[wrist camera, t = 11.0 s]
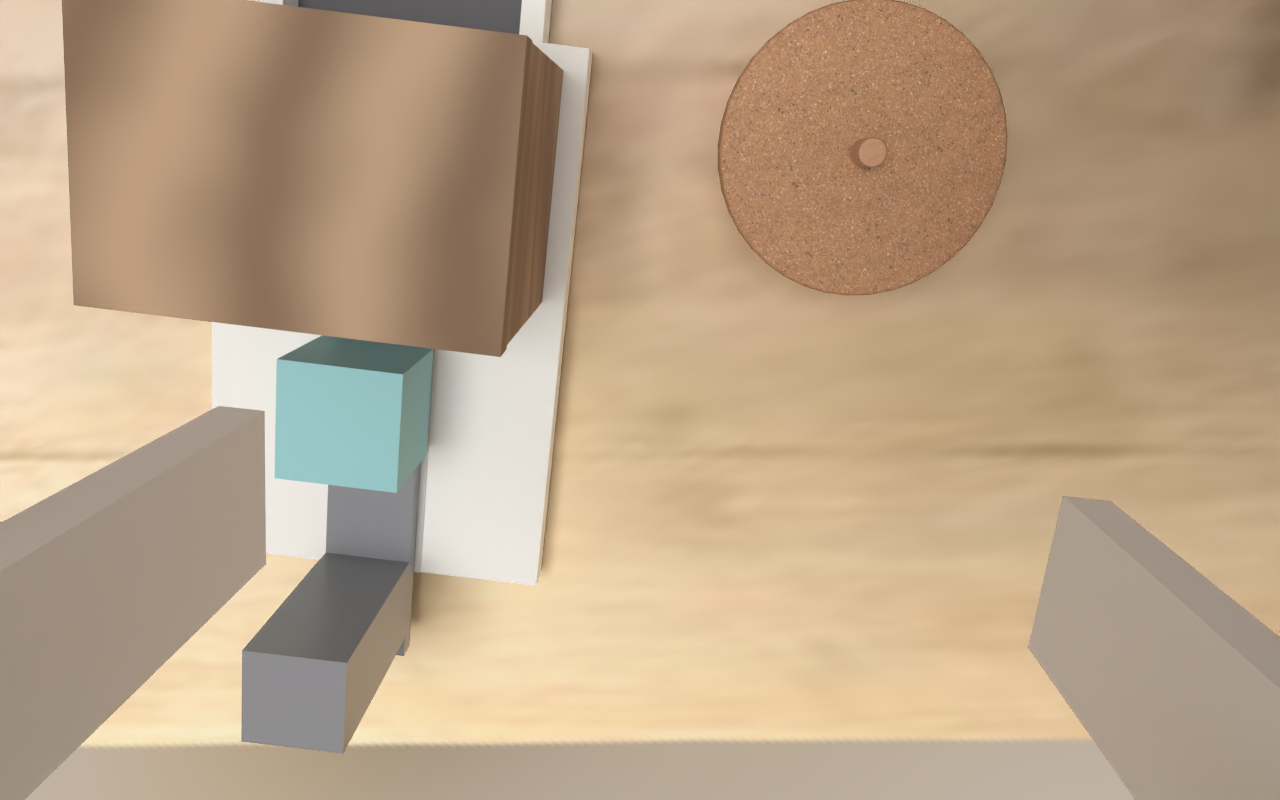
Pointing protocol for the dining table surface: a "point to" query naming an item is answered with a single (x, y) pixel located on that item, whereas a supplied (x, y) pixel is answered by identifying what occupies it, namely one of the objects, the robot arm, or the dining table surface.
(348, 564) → the grey l-shaped piece
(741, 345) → the dining table surface
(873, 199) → the lidded jar
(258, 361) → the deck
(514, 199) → the tunnel
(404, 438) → the block
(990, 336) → the dining table surface
